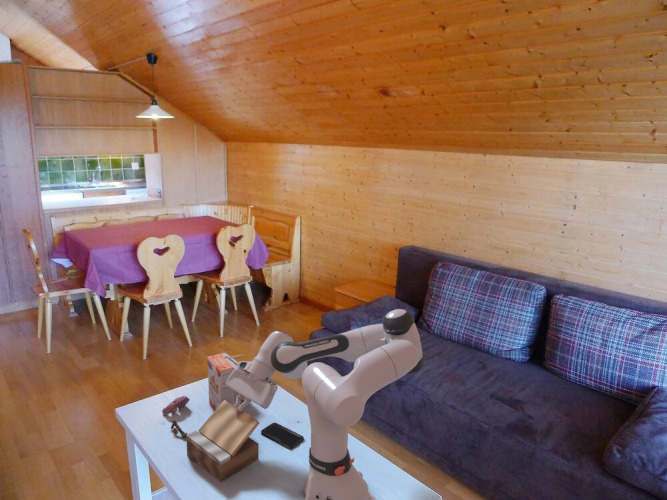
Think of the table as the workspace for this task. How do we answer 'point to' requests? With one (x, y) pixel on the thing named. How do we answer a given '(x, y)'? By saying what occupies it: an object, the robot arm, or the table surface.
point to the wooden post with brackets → (177, 428)
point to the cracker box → (219, 381)
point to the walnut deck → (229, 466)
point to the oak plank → (228, 427)
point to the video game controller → (176, 405)
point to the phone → (282, 435)
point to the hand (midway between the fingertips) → (237, 409)
